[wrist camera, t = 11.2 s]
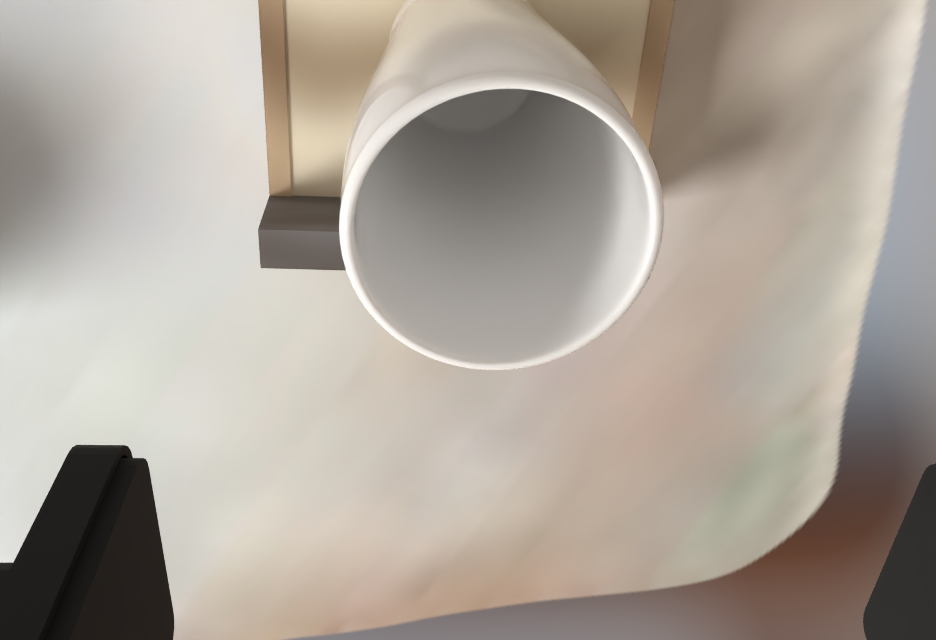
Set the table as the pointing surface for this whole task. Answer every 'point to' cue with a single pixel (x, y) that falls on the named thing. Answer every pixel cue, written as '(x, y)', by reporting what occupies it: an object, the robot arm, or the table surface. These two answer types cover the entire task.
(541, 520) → the table surface
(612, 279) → the white tapered cup
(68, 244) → the table surface
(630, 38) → the dock
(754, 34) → the table surface
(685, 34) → the table surface
